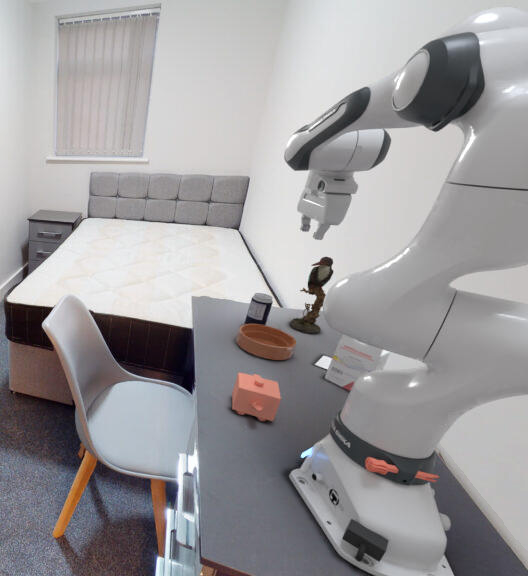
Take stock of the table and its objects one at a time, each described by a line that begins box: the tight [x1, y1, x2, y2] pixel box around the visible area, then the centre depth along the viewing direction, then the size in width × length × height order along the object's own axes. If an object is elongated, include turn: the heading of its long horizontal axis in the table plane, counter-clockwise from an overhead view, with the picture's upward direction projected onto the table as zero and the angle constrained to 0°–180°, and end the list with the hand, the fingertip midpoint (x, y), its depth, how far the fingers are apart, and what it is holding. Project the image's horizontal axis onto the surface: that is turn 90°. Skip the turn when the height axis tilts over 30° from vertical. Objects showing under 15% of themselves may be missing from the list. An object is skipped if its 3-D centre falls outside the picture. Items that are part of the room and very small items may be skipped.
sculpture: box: [288, 256, 334, 335], centre depth 117 cm, size 8×14×25 cm, turn 126°
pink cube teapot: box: [231, 371, 282, 422], centre depth 83 cm, size 8×12×8 cm, turn 152°
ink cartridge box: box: [324, 334, 391, 392], centre depth 91 cm, size 9×5×15 cm, turn 25°
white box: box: [314, 355, 333, 370], centre depth 102 cm, size 8×8×1 cm
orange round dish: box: [235, 323, 297, 361], centre depth 109 cm, size 14×14×4 cm
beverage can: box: [243, 292, 274, 326], centre depth 119 cm, size 6×6×12 cm
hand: (310, 235), depth 100 cm, fingers open, 8 cm apart
